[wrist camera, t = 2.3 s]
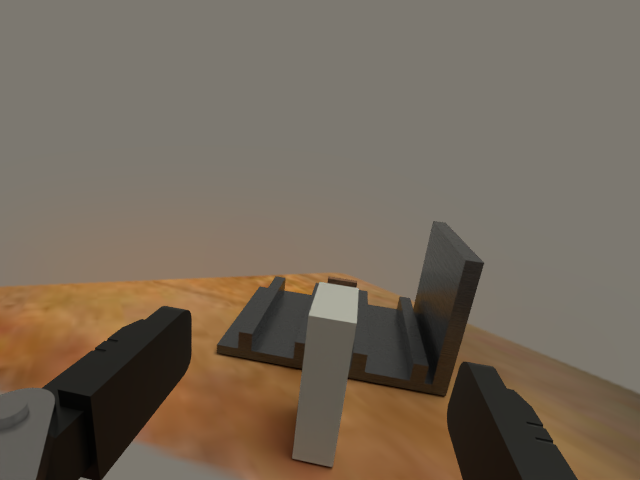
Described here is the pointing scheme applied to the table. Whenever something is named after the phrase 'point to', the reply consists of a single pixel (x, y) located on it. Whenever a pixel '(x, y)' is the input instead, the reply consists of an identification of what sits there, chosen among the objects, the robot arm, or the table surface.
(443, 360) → the rack
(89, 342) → the table surface
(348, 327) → the light grey block
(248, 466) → the table surface
